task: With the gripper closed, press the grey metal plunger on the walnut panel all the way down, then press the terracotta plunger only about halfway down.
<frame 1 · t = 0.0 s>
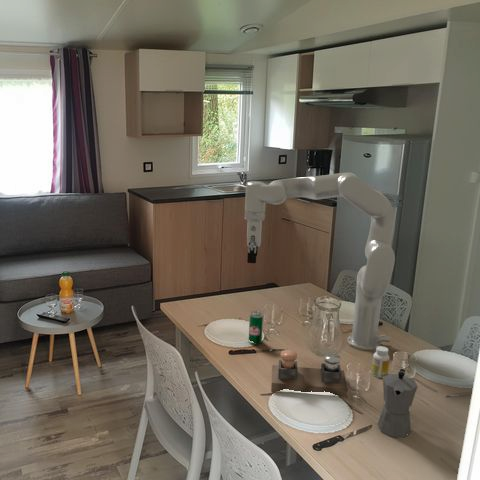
hand: (252, 259, 203), 31 cm above the table, tool pointing down, fingers open, 9 cm apart
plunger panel: (308, 384, 176), on the table
grey plunger: (331, 363, 174), point 8 cm above the table, slide at 0.0 cm
coffeepot: (394, 427, 155), on the table
terracotta plunger: (288, 360, 174), point 8 cm above the table, slide at 0.0 cm
soda can: (255, 342, 205), on the table
supplement bottle: (379, 374, 185), on the table
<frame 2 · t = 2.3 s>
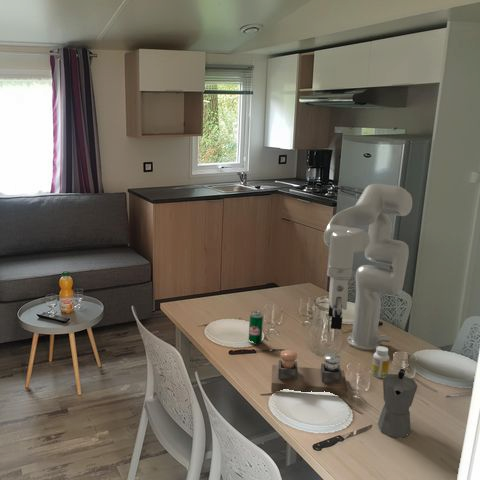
hand: (334, 322, 170), 23 cm above the table, tool pointing down, fingers open, 9 cm apart
nothing on the table moved.
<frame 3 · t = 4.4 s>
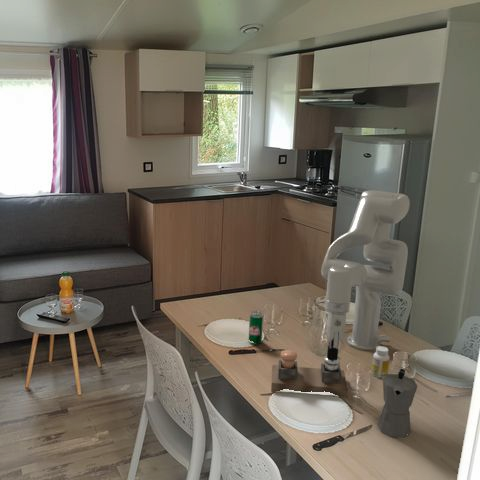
hand: (332, 358, 173), 10 cm above the table, tool pointing down, fingers closed
grey plunger: (331, 365, 174), point 8 cm above the table, slide at 0.5 cm, touching gripper
everything else where it was.
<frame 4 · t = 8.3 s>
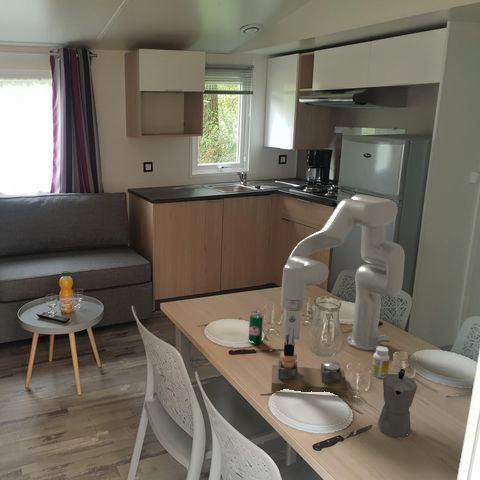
hand: (288, 354, 174), 10 cm above the table, tool pointing down, fingers closed
grey plunger: (331, 370, 174), point 6 cm above the table, slide at 2.6 cm
terracotta plunger: (288, 361, 175), point 8 cm above the table, slide at 0.4 cm, touching gripper
everything else where it was.
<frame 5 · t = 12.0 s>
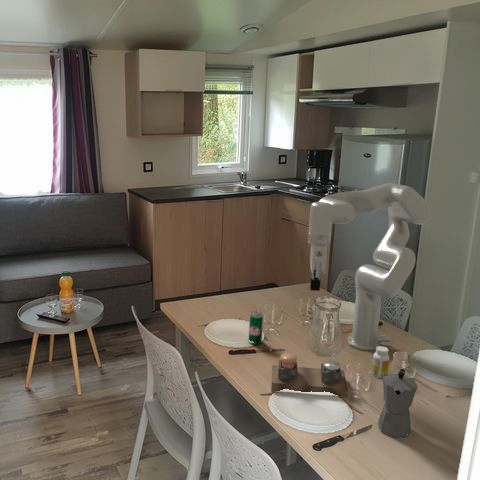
hand: (314, 289, 186), 27 cm above the table, tool pointing down, fingers closed
terracotta plunger: (288, 363, 175), point 7 cm above the table, slide at 1.2 cm
everything else where it was.
at the end: grey plunger slide at 2.6 cm; terracotta plunger slide at 1.2 cm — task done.
